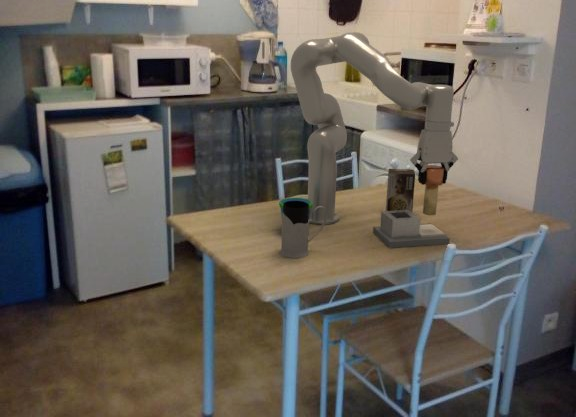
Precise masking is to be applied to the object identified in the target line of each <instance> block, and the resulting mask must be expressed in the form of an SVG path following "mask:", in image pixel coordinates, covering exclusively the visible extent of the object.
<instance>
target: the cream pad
mask: <svg viewBox="0 0 576 417" xmlns="http://www.w3.org/2000/svg"><path fill="white" fill-rule="evenodd" d="M427 224H428V223H427ZM419 235H420V236H421V237H427V236H443V235H446V234H445V233H444V232H443V231H442V230H440V229H439V228H437V227H436V226H435V225H433V224H432V223H430V224H428V225H420V230H419Z"/></svg>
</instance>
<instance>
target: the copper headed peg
mask: <svg viewBox="0 0 576 417" xmlns="http://www.w3.org/2000/svg"><path fill="white" fill-rule="evenodd" d="M425 172H426V179H425V184H424V198H423V208H422V214H423V215H426V216H436V214H437V205H438V194H439V187H440V186H442V185H443V175H444V167H442V166H441V165H437V164H436V165H435V164H428V165H427V167H426V169H425Z"/></svg>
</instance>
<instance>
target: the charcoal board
mask: <svg viewBox="0 0 576 417" xmlns="http://www.w3.org/2000/svg"><path fill="white" fill-rule="evenodd" d="M428 224H431V223H420V225H428ZM372 227H373V228H372V233H373V234H374V235H375V236H376V237H377V238H378V239H379V240H380V241H382V243H384V245H386V246H387V248H389V249H396V248H398V249H399V248H411V247H423V246H424V245H425V246H426V245H427V246H439V244H442V245H449V244H450V238H451V237H449V236H448V235H446V234H445V235H443V236H427V237H421V236H420V235H419V237H414V238H398V239H391V238H390V237H389V236H388V235H386V234H385V233H384V232H383V231H382V230H381V229H380V226H372ZM448 243H449V244H448ZM425 246H424V247H425Z"/></svg>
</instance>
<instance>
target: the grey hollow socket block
mask: <svg viewBox="0 0 576 417" xmlns="http://www.w3.org/2000/svg"><path fill="white" fill-rule="evenodd" d="M380 212H381V213H380V224H379V225H380V229H381V230H382V231H383V232H384V233H385V234H386V235H388V236H389V237H390V238H391V239H398V238H414V237H419V230H420V224H421V218H420V217H419V216H417V215H416V214H414V213H413V211H412V212H410V211H409V210H397V211H386V210H385V211H384V210H382V211H380Z"/></svg>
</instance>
